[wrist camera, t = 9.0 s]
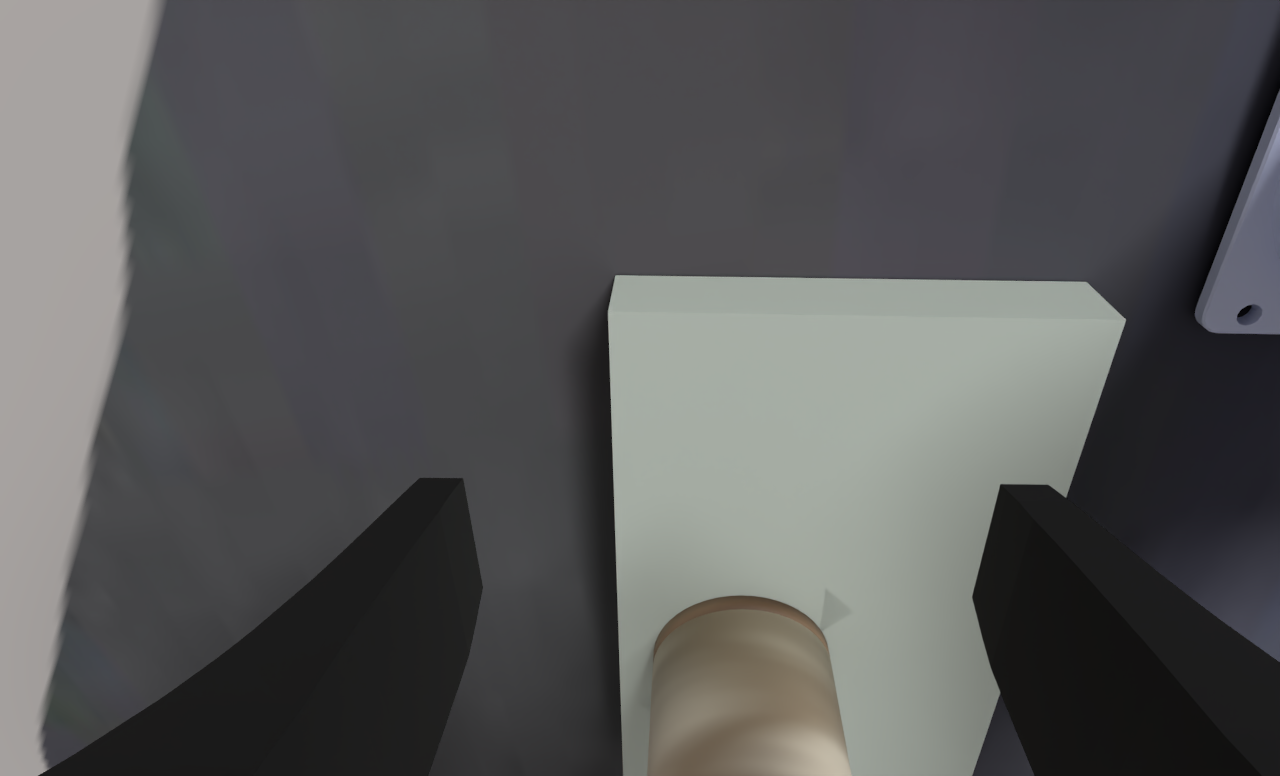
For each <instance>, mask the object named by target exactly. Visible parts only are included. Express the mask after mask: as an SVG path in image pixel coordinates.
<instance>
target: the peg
mask: <svg viewBox="0 0 1280 776" xmlns="http://www.w3.org/2000/svg"><path fill="white" fill-rule="evenodd" d="M647 776H852V775H851V769H850V764H849V758H848V753H847V747H846V742H845V736H844V731H843V726H842V720H841V715H840V709H839V704H838V698H837V693H836V687H835V682H834V676H833V671H832V665H831V660H830V654H829V649H828V644H827V641H826V639H825V636H824V634H823V633H822V631H821V630H820V628H819V627H818V626H817V625H816V623H815V622H814V621H813V620H812V619H810V618H809V617H808V616H807V615H806V614H804V613H802V612H801V611H799V610H798V609H796V608H794V607H792V606H790V605H788V604H785V603H782V602H780V601H777V600H773V599H769V598H764V597H757V596H744V595H738V596H725V597H718V598H714V599H709V600H706V601H703V602H700V603H697V604H695V605H692V606H690V607H688V608H686V609H685V610H683V611H681V612H680V613H678V614H677V615H676V616H674V617H673V618H672V619H671V620H670V621H669V622H668V623H667V624H666V625H665V626H664V627H663V629H662V630H661V632H660V633H659V635H658V637H657V640H656V642H655V646H654V654H653V673H652V692H651V711H650V730H649V749H648V768H647Z"/></svg>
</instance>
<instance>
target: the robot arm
mask: <svg viewBox="0 0 1280 776" xmlns="http://www.w3.org/2000/svg"><path fill="white" fill-rule="evenodd" d="M1248 305H1252V307H1251V309H1250V310H1249V312H1248V313H1247V314H1245V315H1243V316H1242V317H1238V318H1237V315H1238V313H1239V312H1240V310H1241V309H1243V308H1244V307H1246V306H1248ZM1195 318H1196V320H1197V322H1198V323H1199V324H1201V325H1202V326H1203V327H1204V328H1205V329H1207V330H1208V331H1209V332H1214V333H1230V334H1280V90H1279V92H1278V95H1277V98H1276V100H1275V103H1274V105H1273V108H1272V111H1271V113H1270V116H1269V118H1268V121H1267V124H1266V126H1265V129H1264V131H1263V134H1262V137H1261V139H1260V142H1259V144H1258V147H1257V150H1256V152H1255V155H1254V158H1253V160H1252V163H1251V165H1250V168H1249V171H1248V173H1247V176H1246V178H1245V181H1244V184H1243V186H1242V189H1241V191H1240V194H1239V197H1238V199H1237V202H1236V204H1235V207H1234V210H1233V212H1232V215H1231V217H1230V220H1229V223H1228V225H1227V228H1226V230H1225V233H1224V236H1223V238H1222V241H1221V243H1220V246H1219V249H1218V251H1217V254H1216V256H1215V259H1214V262H1213V264H1212V267H1211V269H1210V272H1209V275H1208V277H1207V280H1206V282H1205V285H1204V288H1203V290H1202V293H1201V295H1200V298H1199V301H1198V303H1197V306H1196V310H1195ZM482 589H483V586H482V580H481V575H480V569H479V564H478V558H477V553H476V547H475V542H474V536H473V531H472V525H471V520H470V514H469V509H468V503H467V498H466V492H465V487H464V481H463V478H419V479H418V480H417V481H416V482H415V483H414V484H413V485H412V486H411V487H410V488H409V489H408V490H406V491H405V492H404V493H403V494H402V495H401V496H400V497H399V498H398V499H397V500H396V501H395V502H394V503H393V504H392V505H391V506H390V507H389V508H388V509H387V510H386V511H385V512H383V513H382V514H381V515H380V516H379V517H378V518H377V519H376V520H375V521H374V522H373V523H372V524H371V525H370V526H369V527H368V528H367V529H366V530H365V531H364V532H363V533H362V534H361V535H360V536H359V537H358V538H357V539H355V540H354V541H353V542H352V543H351V544H350V545H349V546H348V547H347V548H346V549H345V550H344V551H343V552H342V553H341V554H340V555H338V556H337V557H336V558H335V559H334V560H333V561H332V562H331V563H330V564H329V565H328V566H327V567H326V568H324V569H323V570H322V571H321V572H320V573H319V574H318V575H317V576H316V577H315V578H314V579H313V580H311V581H310V582H309V583H308V584H307V585H306V586H304V587H303V588H302V589H301V590H300V591H299V592H297V593H296V594H295V595H294V596H293V597H292V598H290V599H289V600H288V601H287V602H286V603H284V604H283V605H282V606H281V607H280V608H279V609H277V610H276V611H275V612H274V613H273V614H272V615H270V616H269V617H268V618H267V619H266V620H265V621H263V622H262V623H261V624H260V625H259V626H257V627H256V628H255V629H254V630H253V631H251V632H250V633H249V634H248V635H246V636H245V637H244V638H243V639H241V640H240V641H239V642H238V643H236V644H235V645H234V646H232V647H231V648H230V649H229V650H227V651H226V652H225V653H223V654H222V655H221V656H219V657H218V658H217V659H215V660H214V661H213V662H211V663H210V664H209V665H207V666H206V667H204V668H203V669H202V670H200V671H199V672H198V673H196V674H195V675H193V676H192V677H191V678H189V679H188V680H186V681H185V682H184V683H182V684H181V685H180V686H178V687H177V688H175V689H174V690H173V691H171V692H170V693H168V694H167V695H165V696H164V697H162V698H161V699H160V700H158V701H157V702H155V703H153V704H152V705H150V706H149V707H147V708H146V709H144V710H143V711H141V712H139V713H138V714H136V715H135V716H133V717H132V718H130V719H129V720H127V721H126V722H124V723H122V724H121V725H119V726H118V727H116V728H115V729H113V730H112V731H110V732H108V733H107V734H105V735H104V736H102V737H101V738H99V739H98V740H96V741H94V742H93V743H91V744H90V745H88V746H87V747H85V748H84V749H82V750H80V751H79V752H77V753H76V754H74V755H72V756H71V757H69V758H68V759H66V760H64V761H63V762H61V763H59V764H57V765H56V766H54V767H52V768H51V769H49V770H47V771H45V772H44V773H42V774H40V775H39V776H428V775H429V772H430V769H431V766H432V763H433V760H434V757H435V754H436V751H437V748H438V745H439V742H440V740H441V737H442V734H443V731H444V728H445V725H446V722H447V719H448V716H449V713H450V710H451V707H452V704H453V701H454V698H455V695H456V693H457V690H458V687H459V684H460V681H461V678H462V675H463V672H464V669H465V665H466V662H467V659H468V656H469V652H470V648H471V643H472V639H473V634H474V629H475V625H476V620H477V614H478V609H479V604H480V599H481V594H482ZM972 599H973V603H974V607H975V611H976V615H977V619H978V623H979V627H980V631H981V635H982V639H983V642H984V646H985V649H986V653H987V656H988V660H989V663H990V667H991V670H992V672H993V675H994V677H995V680H996V683H997V685H998V688H999V690H1000V693H1001V695H1002V697H1003V700H1004V702H1005V705H1006V707H1007V710H1008V712H1009V715H1010V717H1011V720H1012V722H1013V725H1014V727H1015V729H1016V732H1017V734H1018V737H1019V739H1020V741H1021V744H1022V746H1023V749H1024V751H1025V753H1026V756H1027V758H1028V761H1029V763H1030V765H1031V768H1032V770H1033V773H1034V775H1035V776H1280V662H1278V661H1277V660H1276V659H1274V658H1273V657H1271V656H1270V655H1268V654H1267V653H1266V652H1264V651H1263V650H1261V649H1260V648H1259V647H1257V646H1256V645H1254V644H1253V643H1252V642H1250V641H1249V640H1247V639H1246V638H1245V637H1243V636H1242V635H1240V634H1239V633H1238V632H1236V631H1235V630H1233V629H1232V628H1231V627H1229V626H1228V625H1226V624H1225V623H1224V622H1222V621H1221V620H1220V619H1218V618H1217V617H1216V616H1214V615H1213V614H1212V613H1210V612H1209V611H1208V610H1206V609H1205V608H1204V607H1202V606H1201V605H1200V604H1198V603H1197V602H1196V601H1195V600H1193V599H1192V598H1191V597H1189V596H1188V595H1187V594H1185V593H1184V592H1183V591H1182V590H1180V589H1179V588H1178V587H1176V586H1175V585H1174V584H1173V583H1171V582H1170V581H1169V580H1167V579H1166V578H1165V577H1164V576H1162V575H1161V574H1160V573H1159V572H1157V571H1156V570H1155V569H1154V568H1152V567H1151V566H1150V565H1149V564H1147V563H1146V562H1145V561H1144V560H1142V559H1141V558H1140V557H1139V556H1137V555H1136V554H1135V553H1134V552H1132V551H1131V550H1130V549H1129V548H1127V547H1126V546H1125V545H1124V544H1122V543H1121V542H1120V541H1119V540H1118V539H1116V538H1115V537H1114V536H1113V535H1111V534H1110V533H1109V532H1108V531H1106V530H1105V529H1104V528H1103V527H1102V526H1100V525H1099V524H1098V523H1097V522H1095V521H1094V520H1093V519H1092V518H1090V517H1089V516H1088V515H1087V514H1086V513H1084V512H1083V511H1082V510H1081V509H1079V508H1078V507H1077V506H1076V505H1074V504H1073V503H1072V502H1071V501H1069V500H1068V499H1067V498H1065V497H1064V496H1063V495H1062V494H1060V493H1059V492H1058V491H1056V490H1055V489H1054V488H1052V487H1051V486H1049V485H1035V484H1000V488H999V492H998V496H997V500H996V504H995V508H994V512H993V516H992V519H991V523H990V527H989V531H988V535H987V539H986V543H985V547H984V551H983V555H982V559H981V563H980V567H979V571H978V575H977V579H976V583H975V587H974V591H973V595H972Z"/></svg>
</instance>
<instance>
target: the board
mask: <svg viewBox="0 0 1280 776" xmlns="http://www.w3.org/2000/svg"><path fill="white" fill-rule="evenodd" d="M1125 322H1126V319H1125V318H1124V317H1123V316H1121V315H1120V314H1119V313H1118V312H1117V311H1116V310H1115V309H1114V308H1113V307H1112V306H1111V305H1110V304H1109V303H1108V302H1107V301H1106V300H1105V299H1104V298H1103V297H1102V296H1101V295H1100V294H1098V293H1097V292H1096V291H1095V290H1094V289H1093V288H1092V287H1091V286H1090V285H1089V284H1088V283H1087V282H1057V281H985V280H913V279H841V278H770V277H698V276H626V275H615V280H614V285H613V290H612V295H611V299H610V304H609V309H608V328H609V358H610V389H611V420H612V450H613V481H614V511H615V542H616V572H617V603H618V633H619V664H620V694H621V725H622V755H623V776H647V768H648V749H649V730H650V711H651V692H652V673H653V654H654V646H655V642H656V640H657V637H658V635H659V633H660V632H661V630H662V629H663V627H664V626H665V625H666V624H667V623H668V622H669V621H670V620H671V619H672V618H673V617H674V616H676V615H677V614H678V613H680V612H681V611H683V610H685V609H686V608H688V607H690V606H692V605H695V604H697V603H700V602H703V601H706V600H709V599H714V598H718V597H725V596H738V595H744V596H757V597H764V598H769V599H773V600H777V601H780V602H782V603H785V604H788V605H790V606H792V607H794V608H796V609H798V610H799V611H801V612H802V613H804V614H806V615H807V616H808V617H809V618H810V619H812V620H813V621H814V622H815V623H816V625H817V626H818V627H819V628H820V630H821V631H822V633H823V634H824V636H825V639H826V641H827V644H828V649H829V654H830V660H831V665H832V671H833V676H834V682H835V687H836V693H837V698H838V704H839V709H840V715H841V720H842V726H843V731H844V736H845V742H846V747H847V753H848V758H849V764H850V769H851V775H852V776H972V775H973V772H974V769H975V766H976V763H977V760H978V757H979V754H980V751H981V748H982V745H983V742H984V739H985V736H986V733H987V730H988V727H989V725H990V722H991V719H992V716H993V713H994V710H995V707H996V704H997V701H998V698H999V695H1000V690H999V688H998V685H997V683H996V680H995V677H994V675H993V672H992V670H991V667H990V663H989V660H988V656H987V653H986V649H985V646H984V642H983V639H982V635H981V631H980V627H979V623H978V619H977V615H976V611H975V607H974V603H973V599H972V595H973V591H974V587H975V583H976V579H977V575H978V571H979V567H980V563H981V559H982V555H983V551H984V547H985V543H986V539H987V535H988V531H989V527H990V523H991V519H992V516H993V512H994V508H995V504H996V500H997V496H998V492H999V488H1000V484H1035V485H1049V486H1051V487H1052V488H1054V489H1055V490H1056V491H1058V492H1059V493H1060V494H1062V495H1063V496H1064V497H1065V498H1066V497H1067V494H1068V491H1069V488H1070V485H1071V482H1072V479H1073V476H1074V473H1075V470H1076V467H1077V464H1078V461H1079V458H1080V455H1081V452H1082V449H1083V446H1084V443H1085V440H1086V437H1087V434H1088V431H1089V428H1090V425H1091V422H1092V420H1093V417H1094V414H1095V411H1096V408H1097V405H1098V402H1099V399H1100V396H1101V393H1102V390H1103V387H1104V384H1105V381H1106V378H1107V375H1108V372H1109V369H1110V366H1111V363H1112V360H1113V357H1114V354H1115V351H1116V348H1117V345H1118V343H1119V340H1120V337H1121V334H1122V331H1123V328H1124V325H1125Z"/></svg>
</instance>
